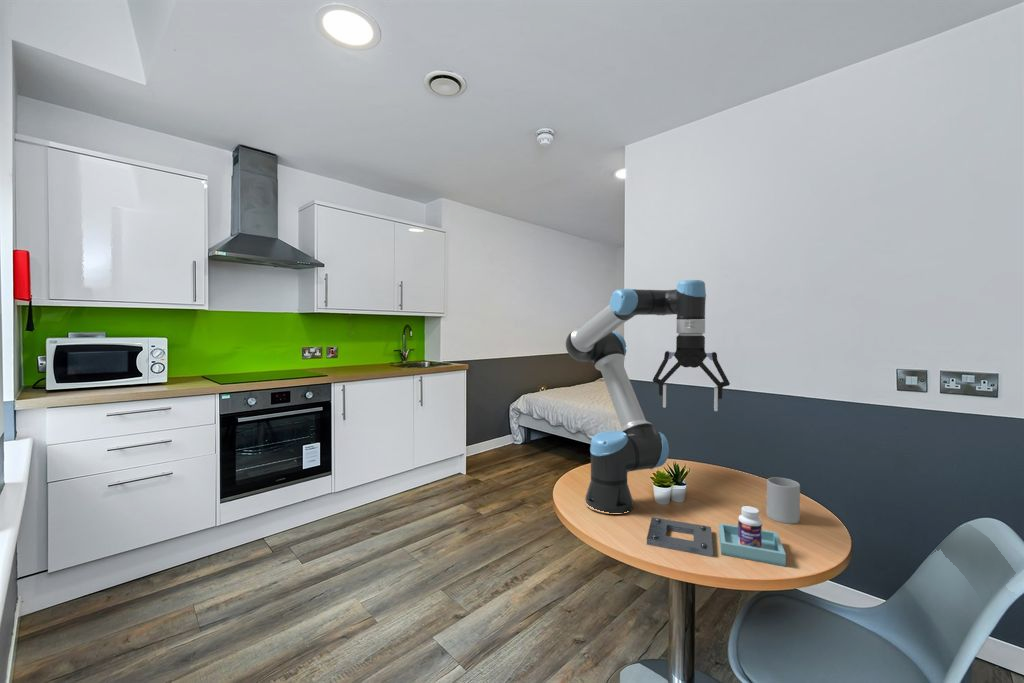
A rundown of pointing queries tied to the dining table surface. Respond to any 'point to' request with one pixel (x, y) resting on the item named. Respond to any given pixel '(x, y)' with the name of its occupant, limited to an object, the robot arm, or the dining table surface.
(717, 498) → the dining table surface
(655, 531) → the plate
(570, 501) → the dining table surface
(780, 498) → the mug
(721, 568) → the dining table surface
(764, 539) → the tray
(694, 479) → the dining table surface
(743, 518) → the pill bottle
